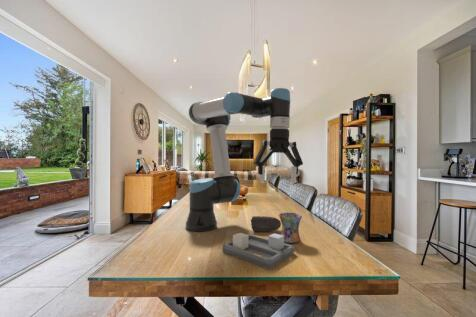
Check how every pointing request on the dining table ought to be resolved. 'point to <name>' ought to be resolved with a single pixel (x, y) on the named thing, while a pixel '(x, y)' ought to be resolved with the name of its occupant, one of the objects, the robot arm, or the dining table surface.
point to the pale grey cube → (276, 241)
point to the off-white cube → (240, 241)
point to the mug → (290, 227)
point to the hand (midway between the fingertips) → (278, 182)
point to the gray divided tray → (259, 252)
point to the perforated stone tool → (265, 223)
